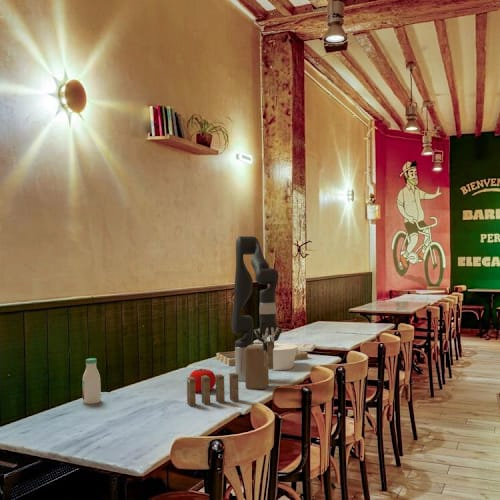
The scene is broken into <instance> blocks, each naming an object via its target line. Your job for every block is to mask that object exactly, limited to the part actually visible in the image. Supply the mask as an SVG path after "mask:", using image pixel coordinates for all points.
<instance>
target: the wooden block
mask: <svg viewBox="0 0 500 500" xmlns="http://www.w3.org/2000/svg"><path fill="white" fill-rule="evenodd" d="M269 373H270V372H269V370H268V369H267V368H265V367H264V350H263V345H249V346H247V347H246V348H245V381H244V382H245V389H247V390H266V388H267V387H268V386H269V383H270V381H269V379H270V378H269Z"/></svg>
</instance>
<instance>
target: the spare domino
mask: <svg viewBox="0 0 500 500" xmlns="http://www.w3.org/2000/svg"><path fill="white" fill-rule="evenodd" d="M266 343H267V351H264V367H265V368H267V369H273V342H271V341H270V340H267V342H266Z"/></svg>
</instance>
